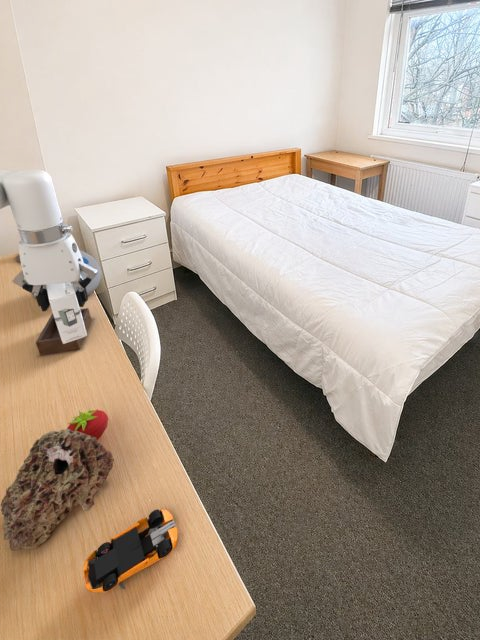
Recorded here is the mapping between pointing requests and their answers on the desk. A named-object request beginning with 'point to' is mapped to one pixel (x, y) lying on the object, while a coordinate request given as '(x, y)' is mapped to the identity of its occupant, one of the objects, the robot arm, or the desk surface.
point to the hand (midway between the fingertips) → (65, 305)
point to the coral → (53, 485)
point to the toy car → (130, 552)
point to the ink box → (66, 311)
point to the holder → (51, 338)
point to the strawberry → (90, 423)
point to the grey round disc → (95, 282)
